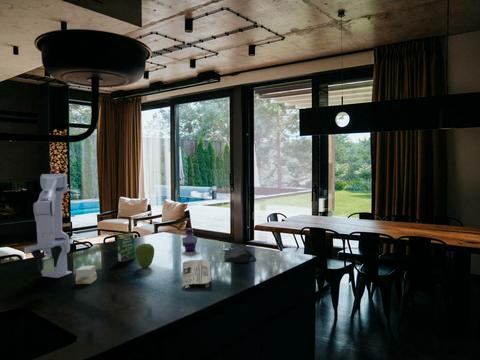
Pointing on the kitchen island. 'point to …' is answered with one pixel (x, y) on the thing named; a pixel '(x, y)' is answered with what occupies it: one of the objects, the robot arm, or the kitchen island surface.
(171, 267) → the kitchen island surface
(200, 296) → the kitchen island surface
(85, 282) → the tower base block
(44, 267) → the sage cylinder
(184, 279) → the newspaper
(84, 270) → the tower top block
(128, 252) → the coffee box
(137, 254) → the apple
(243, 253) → the dark slate chunk
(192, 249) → the potion bottle
